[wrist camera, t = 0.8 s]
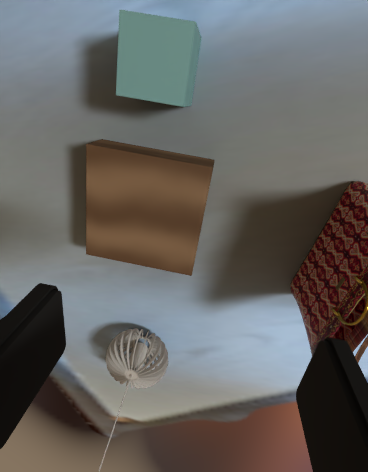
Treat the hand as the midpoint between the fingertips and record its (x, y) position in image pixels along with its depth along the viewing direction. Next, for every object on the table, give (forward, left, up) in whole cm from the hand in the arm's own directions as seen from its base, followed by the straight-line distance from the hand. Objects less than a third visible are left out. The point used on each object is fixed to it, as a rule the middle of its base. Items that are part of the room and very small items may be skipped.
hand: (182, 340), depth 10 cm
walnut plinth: (+5, -7, -25) cm, 26 cm away
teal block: (-10, -7, -25) cm, 28 cm away
